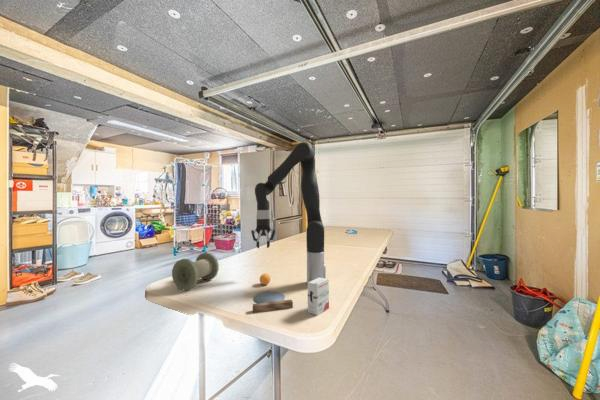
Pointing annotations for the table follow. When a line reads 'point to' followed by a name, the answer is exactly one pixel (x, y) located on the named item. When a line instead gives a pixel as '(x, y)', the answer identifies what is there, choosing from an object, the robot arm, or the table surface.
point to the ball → (264, 279)
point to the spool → (194, 270)
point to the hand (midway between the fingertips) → (263, 247)
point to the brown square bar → (272, 306)
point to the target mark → (269, 297)
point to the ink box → (318, 295)
